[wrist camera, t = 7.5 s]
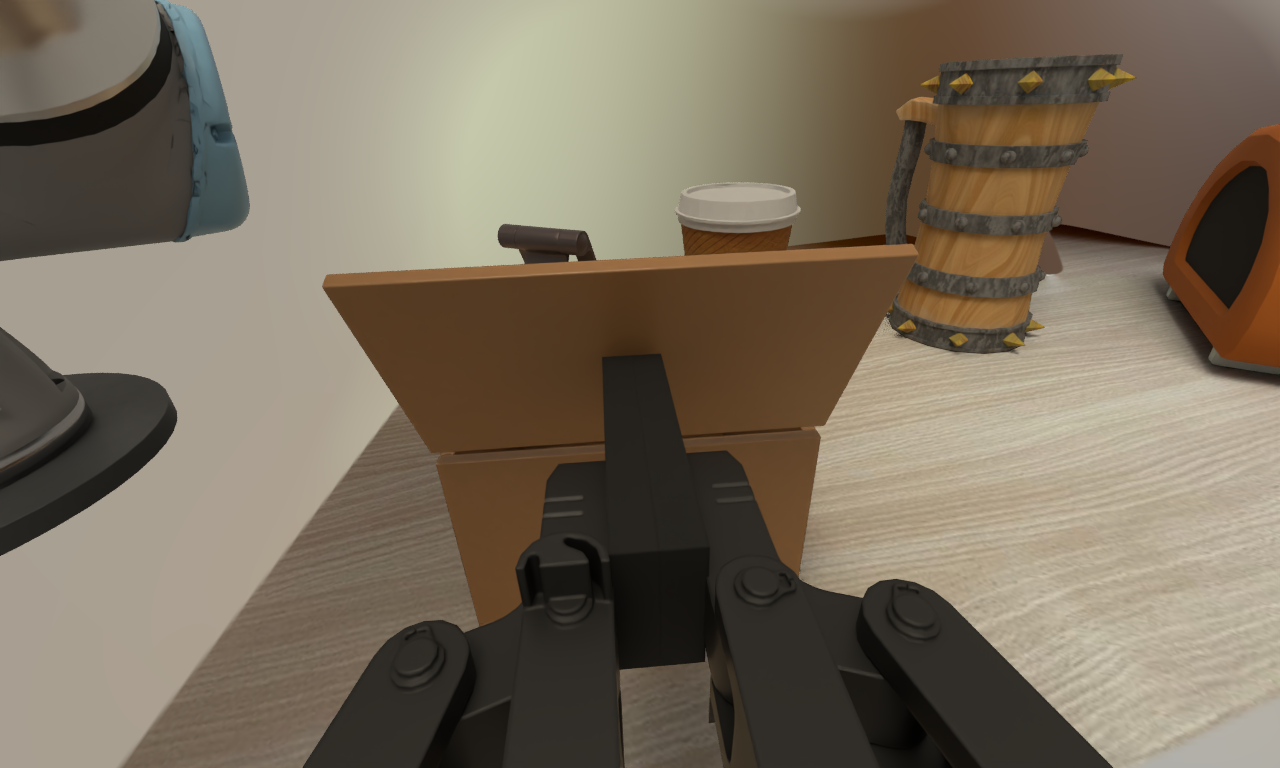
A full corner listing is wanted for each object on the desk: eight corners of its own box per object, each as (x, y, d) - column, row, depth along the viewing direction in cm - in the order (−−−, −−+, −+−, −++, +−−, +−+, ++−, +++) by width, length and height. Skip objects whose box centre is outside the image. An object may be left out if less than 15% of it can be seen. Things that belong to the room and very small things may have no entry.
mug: (956, 372, 40) (1047, 55, 30) (816, 298, 54) (847, 68, 44) (1082, 343, 43) (1199, 51, 33) (919, 281, 57) (968, 65, 48)
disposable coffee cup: (715, 370, 41) (722, 208, 35) (655, 328, 48) (653, 189, 43) (810, 343, 45) (830, 192, 39) (741, 308, 52) (749, 177, 46)
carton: (720, 414, 36) (726, 278, 31) (794, 604, 22) (824, 417, 18) (522, 428, 35) (500, 291, 30) (480, 632, 22) (429, 444, 17)
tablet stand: (619, 301, 55) (615, 218, 51) (578, 329, 49) (570, 237, 45) (548, 291, 58) (539, 212, 54) (502, 316, 52) (487, 229, 48)
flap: (913, 242, 12) (919, 255, 12) (821, 416, 18) (824, 426, 18) (325, 273, 11) (320, 287, 11) (433, 443, 17) (431, 453, 17)
